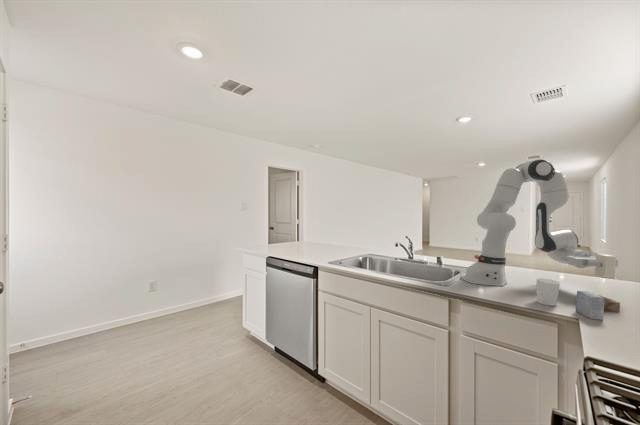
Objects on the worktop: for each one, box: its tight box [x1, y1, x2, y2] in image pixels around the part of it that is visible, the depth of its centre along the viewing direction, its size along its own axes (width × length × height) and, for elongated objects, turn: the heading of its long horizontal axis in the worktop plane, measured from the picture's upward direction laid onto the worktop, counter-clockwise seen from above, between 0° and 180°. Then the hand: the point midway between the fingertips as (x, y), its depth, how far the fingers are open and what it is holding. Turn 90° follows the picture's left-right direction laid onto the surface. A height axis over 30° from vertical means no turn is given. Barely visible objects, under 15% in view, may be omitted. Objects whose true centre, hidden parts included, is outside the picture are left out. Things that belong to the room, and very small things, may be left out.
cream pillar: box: [594, 253, 617, 279], centre depth 124 cm, size 4×4×10 cm
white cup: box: [535, 277, 561, 307], centre depth 120 cm, size 8×8×10 cm
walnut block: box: [597, 294, 621, 312], centre depth 117 cm, size 9×9×4 cm
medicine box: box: [575, 290, 605, 321], centre depth 107 cm, size 8×4×9 cm, turn 168°
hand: (607, 265), depth 123 cm, fingers closed on cream pillar, 4 cm apart
